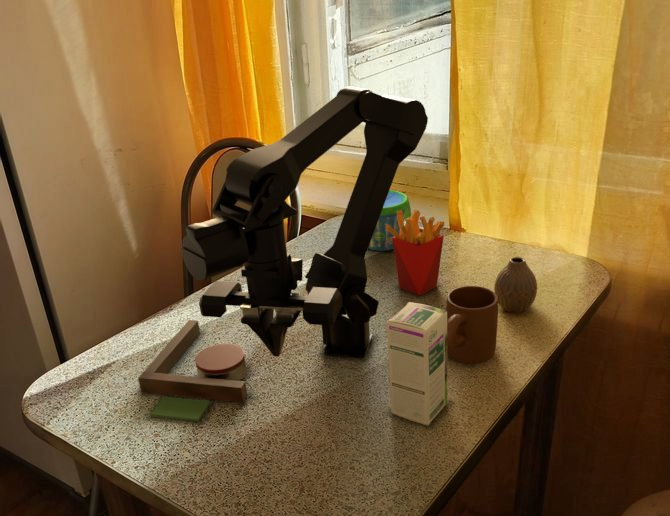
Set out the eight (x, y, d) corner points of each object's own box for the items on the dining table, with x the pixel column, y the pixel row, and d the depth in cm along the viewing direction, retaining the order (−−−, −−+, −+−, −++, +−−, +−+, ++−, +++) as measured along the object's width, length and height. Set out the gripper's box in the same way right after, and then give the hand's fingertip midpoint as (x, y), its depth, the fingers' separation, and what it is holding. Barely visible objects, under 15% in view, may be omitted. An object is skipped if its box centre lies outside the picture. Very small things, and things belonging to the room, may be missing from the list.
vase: (489, 313, 111) (491, 266, 107) (498, 295, 117) (500, 249, 113) (531, 319, 109) (535, 271, 105) (538, 300, 115) (542, 254, 110)
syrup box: (428, 427, 86) (429, 330, 79) (388, 413, 89) (385, 319, 82) (447, 403, 90) (449, 309, 84) (409, 391, 93) (408, 299, 87)
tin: (253, 363, 101) (251, 345, 100) (237, 390, 95) (234, 372, 94) (209, 359, 103) (206, 341, 101) (190, 386, 97) (186, 368, 95)
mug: (471, 386, 94) (473, 328, 89) (422, 372, 97) (422, 315, 93) (503, 345, 102) (506, 291, 98) (457, 333, 106) (459, 280, 102)
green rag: (210, 403, 93) (210, 401, 93) (198, 421, 89) (198, 419, 89) (164, 398, 94) (164, 396, 94) (150, 416, 91) (150, 414, 91)
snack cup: (369, 264, 130) (367, 215, 126) (337, 248, 138) (334, 201, 133) (427, 241, 139) (427, 194, 134) (393, 227, 146) (392, 183, 142)
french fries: (416, 275, 125) (415, 199, 118) (451, 288, 120) (452, 209, 113) (383, 291, 120) (381, 213, 113) (419, 306, 115) (418, 224, 108)
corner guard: (281, 340, 107) (280, 326, 106) (243, 402, 93) (241, 388, 91) (191, 332, 110) (188, 319, 109) (141, 392, 96) (137, 377, 95)
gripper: (348, 233, 92) (354, 330, 100) (222, 227, 96) (237, 321, 104) (328, 268, 83) (335, 373, 90) (189, 260, 87) (207, 361, 94)
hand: (277, 354), depth 95 cm, fingers closed
